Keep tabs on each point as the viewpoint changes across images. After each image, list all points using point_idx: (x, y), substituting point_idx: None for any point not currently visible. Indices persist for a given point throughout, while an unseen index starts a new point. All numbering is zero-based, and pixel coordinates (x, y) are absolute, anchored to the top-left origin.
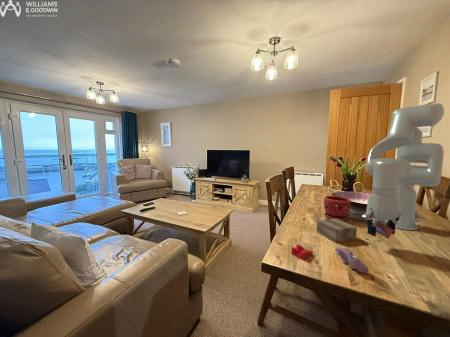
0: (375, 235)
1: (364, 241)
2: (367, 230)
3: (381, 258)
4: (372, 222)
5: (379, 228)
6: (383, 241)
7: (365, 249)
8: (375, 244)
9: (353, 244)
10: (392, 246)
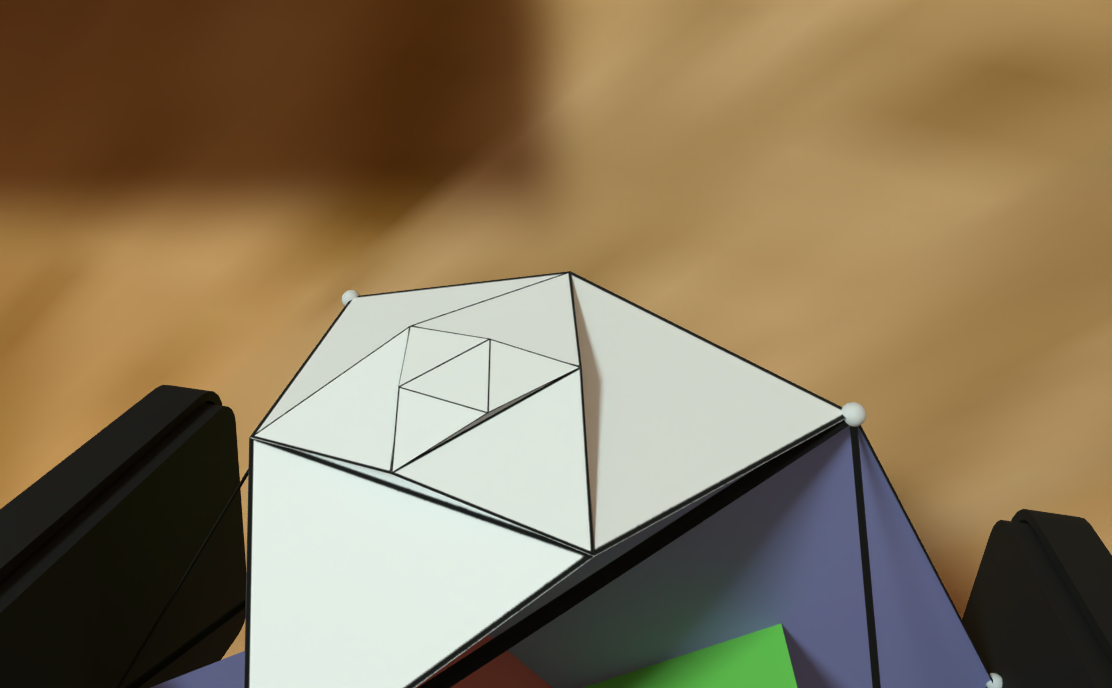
0: (217, 640)
1: (507, 33)
2: (119, 418)
3: (235, 642)
4: (457, 440)
5: (504, 678)
6: (1058, 167)
7: (193, 355)
8: (643, 242)
9: (82, 103)
10: (957, 421)
